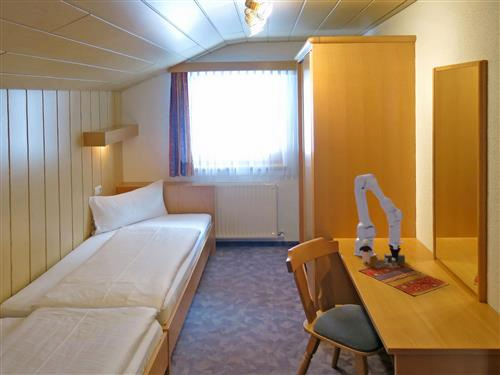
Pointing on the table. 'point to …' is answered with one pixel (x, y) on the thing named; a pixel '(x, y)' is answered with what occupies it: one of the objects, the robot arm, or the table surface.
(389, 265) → the stand
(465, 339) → the table surface
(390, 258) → the bar
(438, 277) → the table surface
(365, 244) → the grandmother figurine
